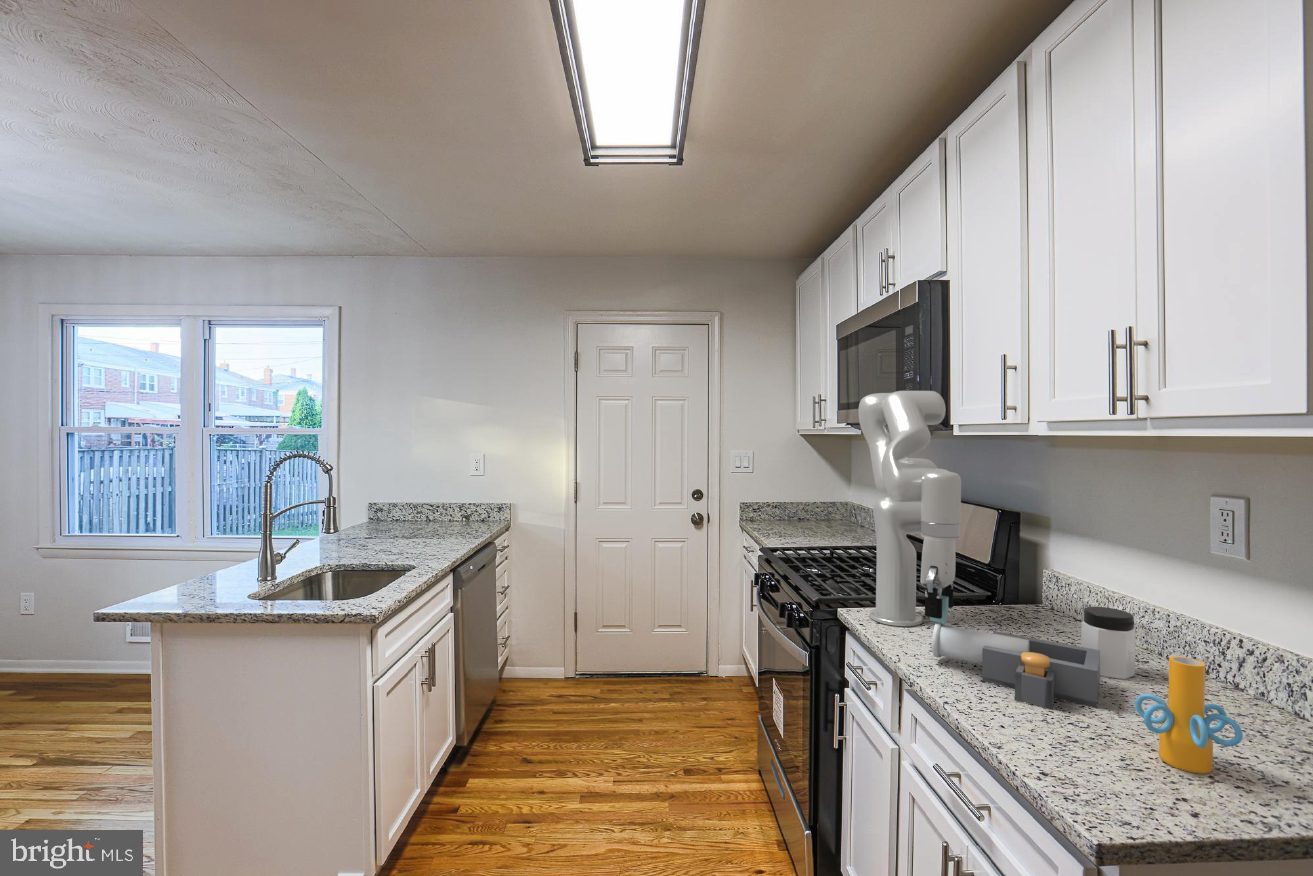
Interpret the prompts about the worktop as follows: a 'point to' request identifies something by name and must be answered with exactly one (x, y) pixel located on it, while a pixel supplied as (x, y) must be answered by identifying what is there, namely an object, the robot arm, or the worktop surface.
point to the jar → (1110, 640)
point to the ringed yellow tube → (1187, 719)
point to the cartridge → (968, 640)
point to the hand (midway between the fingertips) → (939, 611)
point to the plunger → (1035, 663)
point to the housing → (1046, 673)
